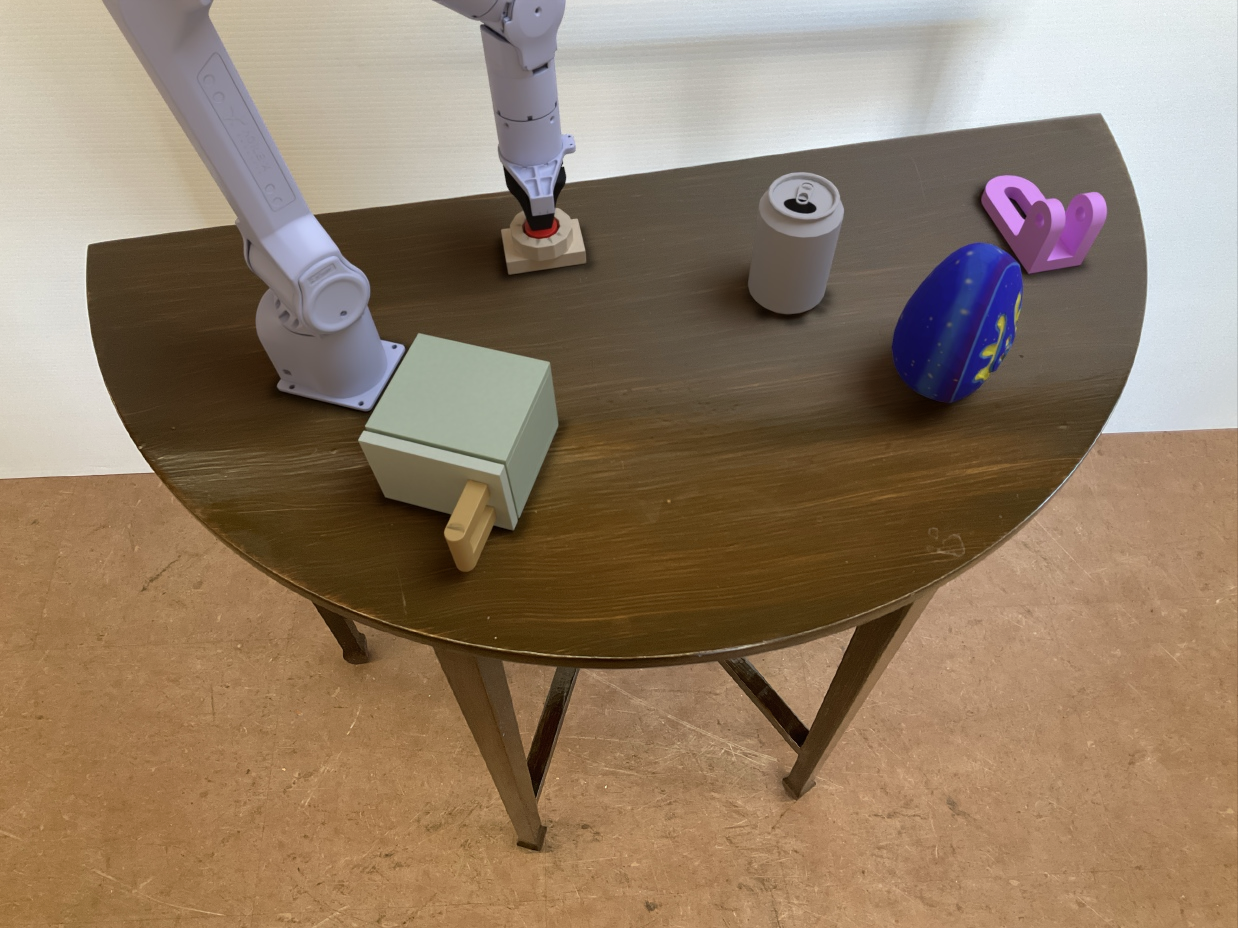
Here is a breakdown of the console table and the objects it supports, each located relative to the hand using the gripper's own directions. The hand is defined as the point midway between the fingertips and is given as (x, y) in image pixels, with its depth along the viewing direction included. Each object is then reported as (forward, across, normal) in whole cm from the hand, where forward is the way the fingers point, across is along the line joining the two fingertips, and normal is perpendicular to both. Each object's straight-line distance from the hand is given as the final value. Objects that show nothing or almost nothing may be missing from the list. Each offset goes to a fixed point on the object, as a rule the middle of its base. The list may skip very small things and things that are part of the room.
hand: (541, 225), depth 85 cm
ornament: (+4, -24, -33) cm, 41 cm away
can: (+4, -11, -22) cm, 25 cm away
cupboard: (+3, -24, +9) cm, 26 cm away
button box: (+3, 0, 0) cm, 3 cm away
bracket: (+4, -7, -50) cm, 50 cm away
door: (+3, -31, +13) cm, 34 cm away
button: (+2, 0, 0) cm, 2 cm away
